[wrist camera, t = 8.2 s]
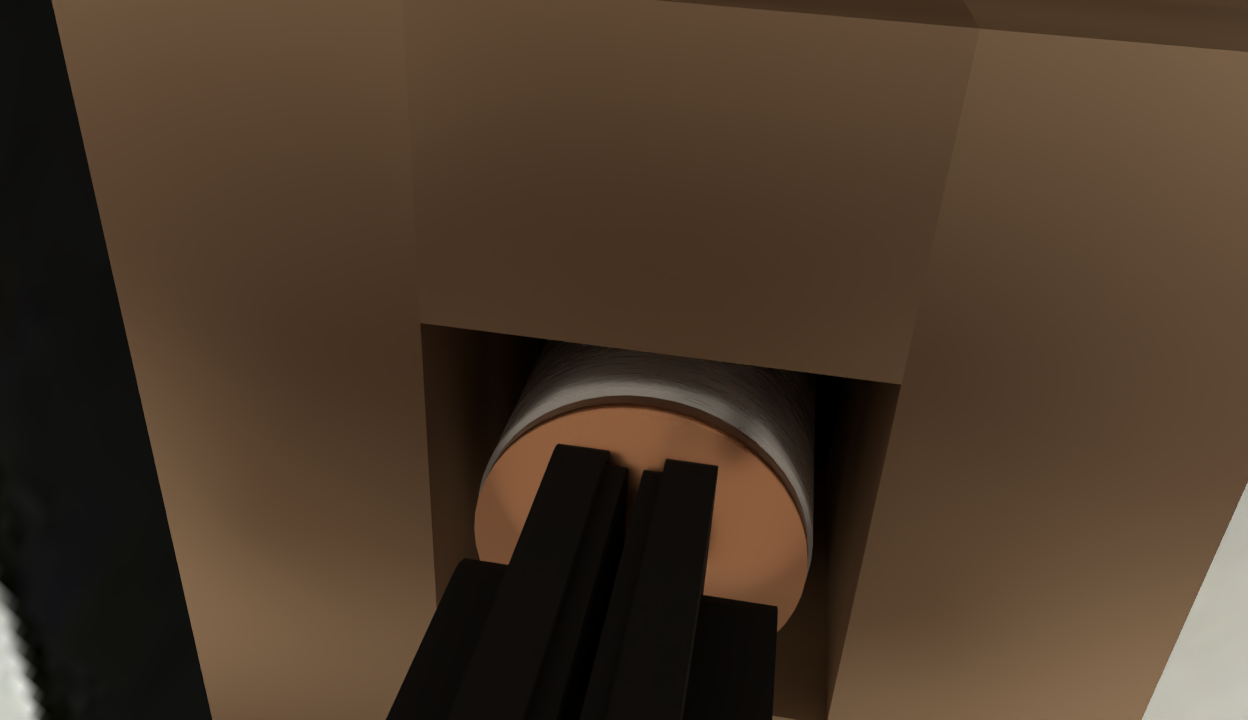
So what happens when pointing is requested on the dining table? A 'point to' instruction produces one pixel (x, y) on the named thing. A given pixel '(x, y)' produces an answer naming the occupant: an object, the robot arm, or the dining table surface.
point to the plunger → (672, 454)
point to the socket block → (689, 309)
